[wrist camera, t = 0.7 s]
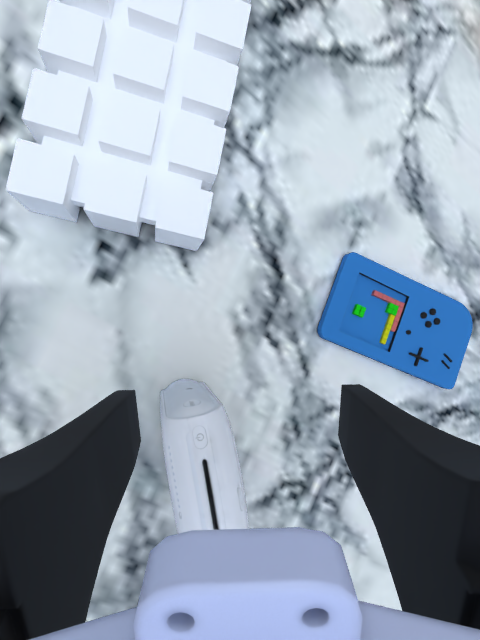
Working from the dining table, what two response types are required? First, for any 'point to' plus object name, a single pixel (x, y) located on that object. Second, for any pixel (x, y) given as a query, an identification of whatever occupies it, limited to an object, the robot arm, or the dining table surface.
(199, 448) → the photo printer
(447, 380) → the handheld gaming device
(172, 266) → the dining table surface
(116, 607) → the dining table surface
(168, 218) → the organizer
